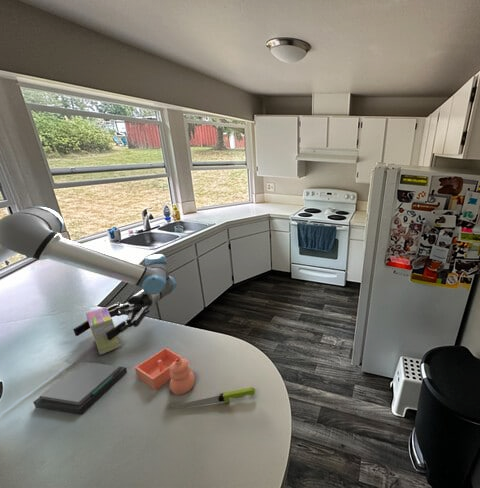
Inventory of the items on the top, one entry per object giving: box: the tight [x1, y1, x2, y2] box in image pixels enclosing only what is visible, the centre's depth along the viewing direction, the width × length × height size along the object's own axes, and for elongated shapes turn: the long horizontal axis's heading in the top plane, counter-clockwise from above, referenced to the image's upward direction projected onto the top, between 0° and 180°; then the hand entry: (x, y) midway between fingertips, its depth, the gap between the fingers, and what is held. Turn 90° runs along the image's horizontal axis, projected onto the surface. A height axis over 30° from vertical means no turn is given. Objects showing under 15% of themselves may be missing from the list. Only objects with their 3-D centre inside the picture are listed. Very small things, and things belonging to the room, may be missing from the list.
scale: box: [33, 361, 128, 416], centre depth 73 cm, size 14×14×3 cm
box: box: [85, 306, 121, 356], centre depth 87 cm, size 10×6×12 cm, turn 47°
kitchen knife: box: [170, 386, 256, 409], centre depth 70 cm, size 22×1×3 cm, turn 101°
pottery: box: [134, 347, 196, 396], centre depth 76 cm, size 18×10×10 cm, turn 63°
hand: (91, 334), depth 83 cm, fingers closed on box, 11 cm apart
